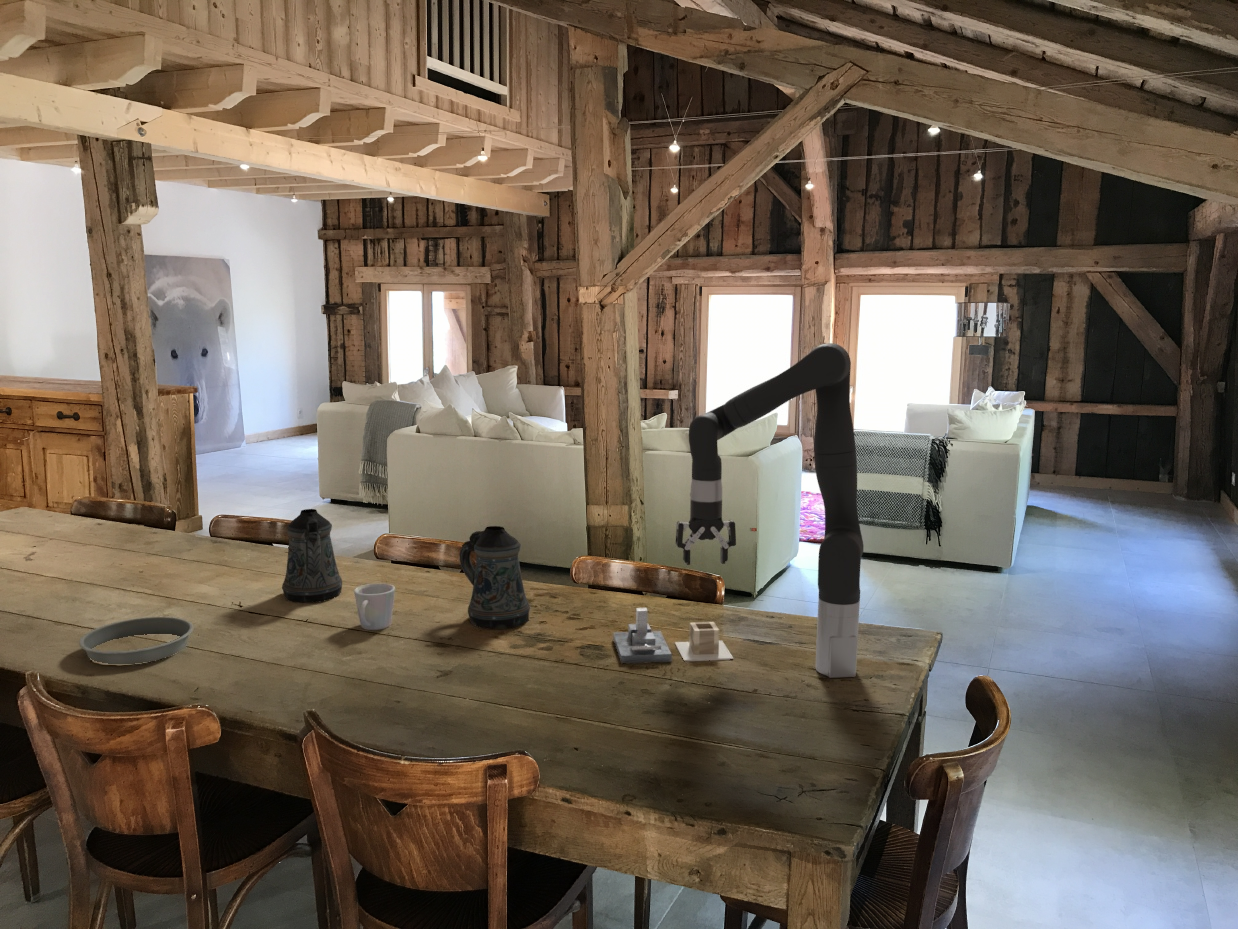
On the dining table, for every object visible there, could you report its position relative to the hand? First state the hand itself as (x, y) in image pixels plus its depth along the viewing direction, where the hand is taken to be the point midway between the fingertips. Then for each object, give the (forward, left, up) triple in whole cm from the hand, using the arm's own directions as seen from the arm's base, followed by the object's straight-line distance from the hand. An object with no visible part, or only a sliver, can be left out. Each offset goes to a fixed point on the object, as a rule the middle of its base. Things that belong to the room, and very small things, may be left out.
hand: (705, 563), depth 225 cm
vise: (+2, +15, -22) cm, 27 cm away
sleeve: (0, 0, -22) cm, 22 cm away
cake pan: (+15, +136, -23) cm, 139 cm away
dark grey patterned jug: (+55, +102, -22) cm, 118 cm away
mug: (+25, +82, -22) cm, 89 cm away
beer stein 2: (+29, +51, -22) cm, 63 cm away
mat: (0, 0, -22) cm, 22 cm away
